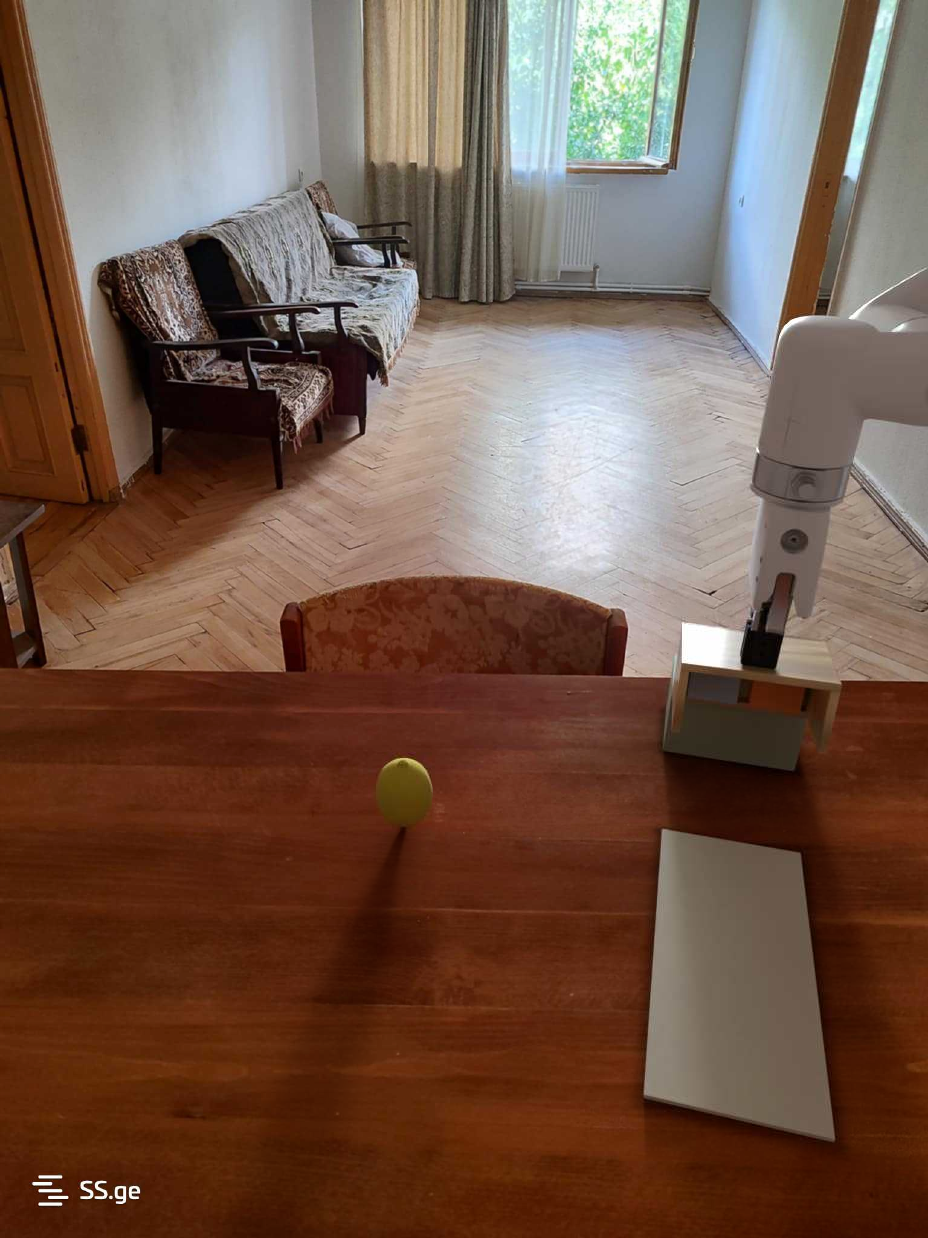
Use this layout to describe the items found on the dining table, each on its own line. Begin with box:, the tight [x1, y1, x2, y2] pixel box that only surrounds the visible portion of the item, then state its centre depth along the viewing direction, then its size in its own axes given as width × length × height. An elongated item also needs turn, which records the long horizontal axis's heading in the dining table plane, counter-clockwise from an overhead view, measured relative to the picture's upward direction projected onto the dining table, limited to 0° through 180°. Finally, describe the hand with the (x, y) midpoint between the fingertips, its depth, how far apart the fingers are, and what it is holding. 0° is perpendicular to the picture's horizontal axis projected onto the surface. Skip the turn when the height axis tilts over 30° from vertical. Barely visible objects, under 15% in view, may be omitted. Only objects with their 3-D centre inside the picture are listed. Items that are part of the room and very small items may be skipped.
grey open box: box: [662, 653, 808, 772], centre depth 98 cm, size 8×14×8 cm, turn 76°
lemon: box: [374, 757, 433, 828], centre depth 86 cm, size 6×6×8 cm
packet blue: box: [687, 672, 741, 705], centre depth 91 cm, size 4×5×2 cm
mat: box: [643, 828, 836, 1143], centre depth 74 cm, size 28×13×1 cm, turn 166°
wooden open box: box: [671, 621, 843, 756], centre depth 86 cm, size 8×14×11 cm
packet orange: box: [748, 680, 806, 714], centre depth 90 cm, size 4×5×2 cm
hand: (757, 662), depth 82 cm, fingers closed
